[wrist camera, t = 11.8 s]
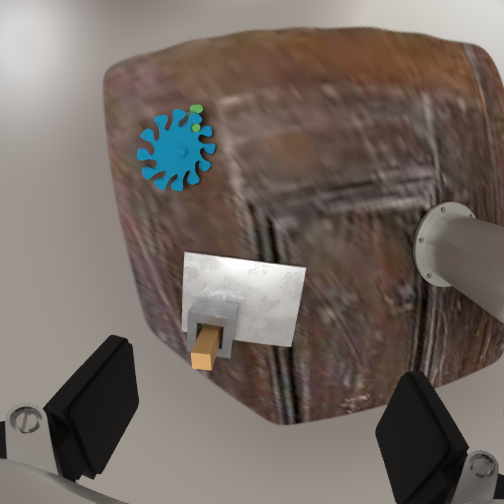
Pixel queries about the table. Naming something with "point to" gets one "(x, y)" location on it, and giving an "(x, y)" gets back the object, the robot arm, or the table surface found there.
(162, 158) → the blue spiky virus toy
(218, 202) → the table surface
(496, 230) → the robot arm
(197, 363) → the tan square peg
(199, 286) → the grey square socket base
